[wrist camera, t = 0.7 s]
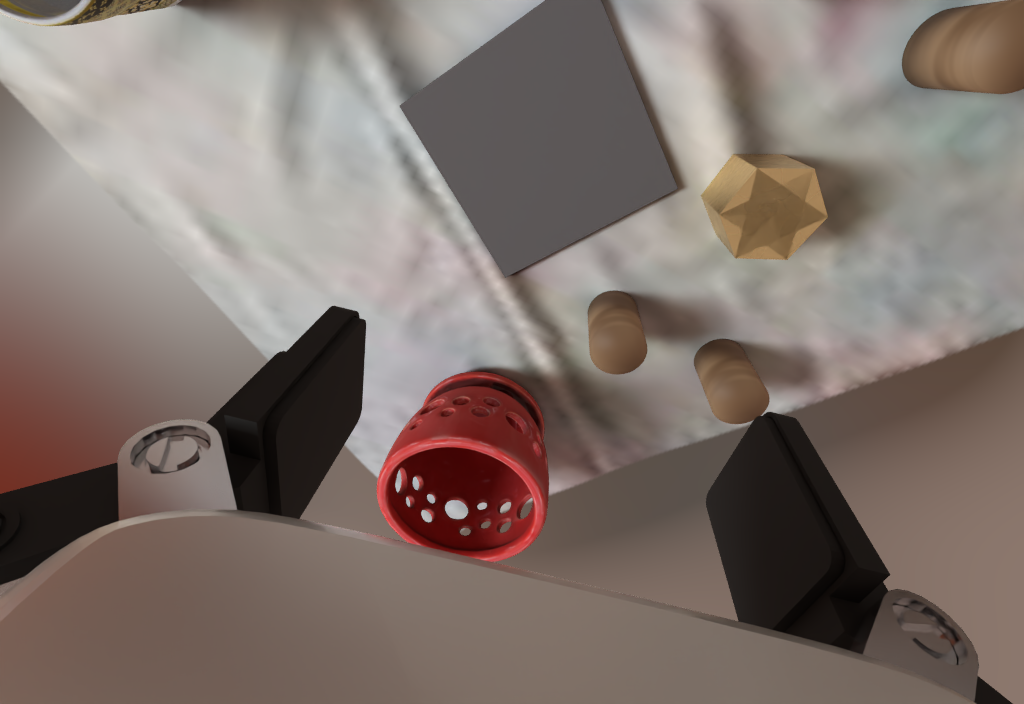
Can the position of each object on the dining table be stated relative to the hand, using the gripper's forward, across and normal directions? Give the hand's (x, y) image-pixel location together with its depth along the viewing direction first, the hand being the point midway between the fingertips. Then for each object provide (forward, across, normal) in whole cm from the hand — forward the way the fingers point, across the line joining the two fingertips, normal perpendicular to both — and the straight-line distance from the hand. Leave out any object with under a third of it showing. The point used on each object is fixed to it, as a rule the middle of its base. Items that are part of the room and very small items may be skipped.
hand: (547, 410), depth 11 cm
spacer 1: (+27, -6, +10) cm, 29 cm away
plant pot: (+27, +2, +23) cm, 35 cm away
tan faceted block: (+27, -12, -1) cm, 30 cm away
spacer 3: (+27, -19, -12) cm, 35 cm away
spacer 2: (+27, -16, +12) cm, 33 cm away
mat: (+27, +2, -1) cm, 27 cm away
